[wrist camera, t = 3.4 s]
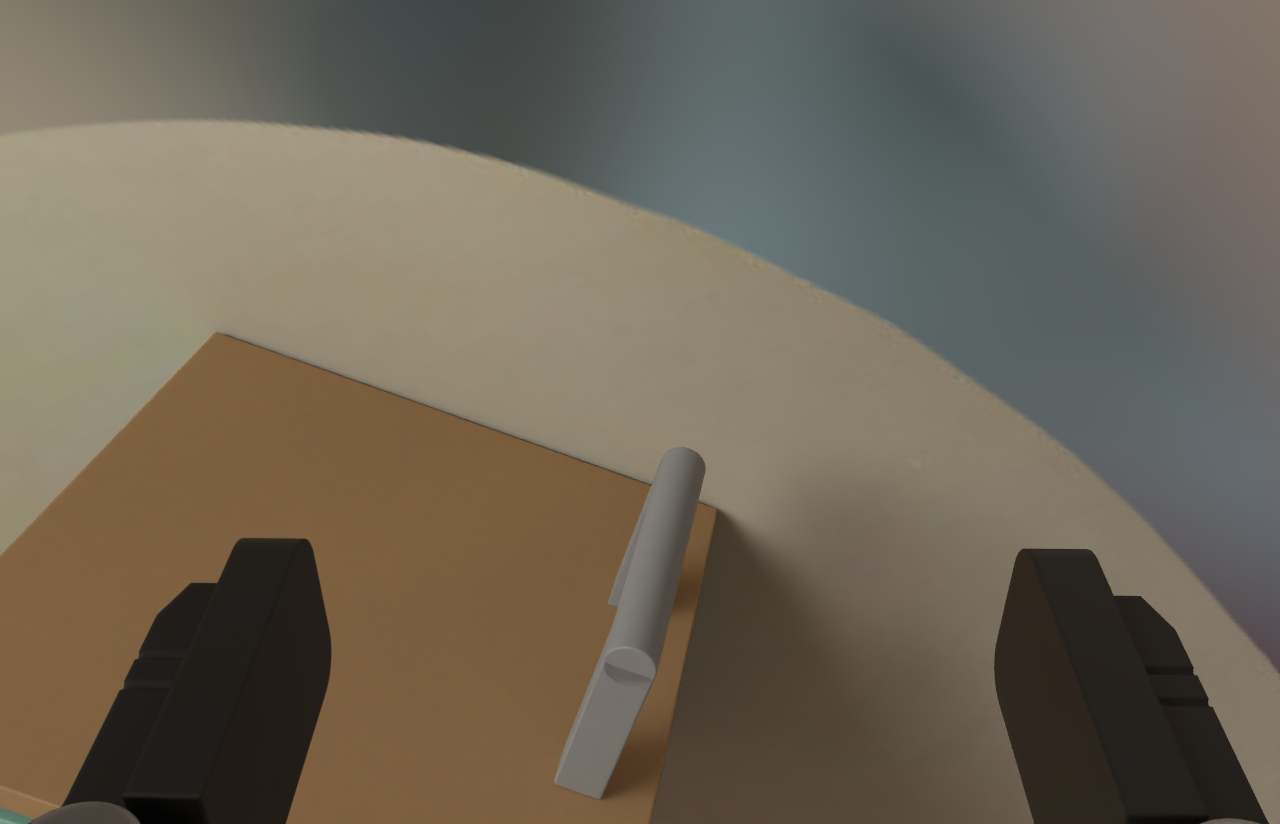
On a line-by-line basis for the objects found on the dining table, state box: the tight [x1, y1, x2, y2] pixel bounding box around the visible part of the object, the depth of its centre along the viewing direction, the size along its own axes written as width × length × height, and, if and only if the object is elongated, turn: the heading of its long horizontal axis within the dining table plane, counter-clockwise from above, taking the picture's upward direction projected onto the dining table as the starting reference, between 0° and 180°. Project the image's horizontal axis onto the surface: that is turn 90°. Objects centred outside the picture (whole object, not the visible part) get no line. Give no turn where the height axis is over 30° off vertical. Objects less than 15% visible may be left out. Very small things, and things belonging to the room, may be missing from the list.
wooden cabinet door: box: [0, 332, 717, 824], centre depth 40 cm, size 8×22×22 cm, turn 73°
